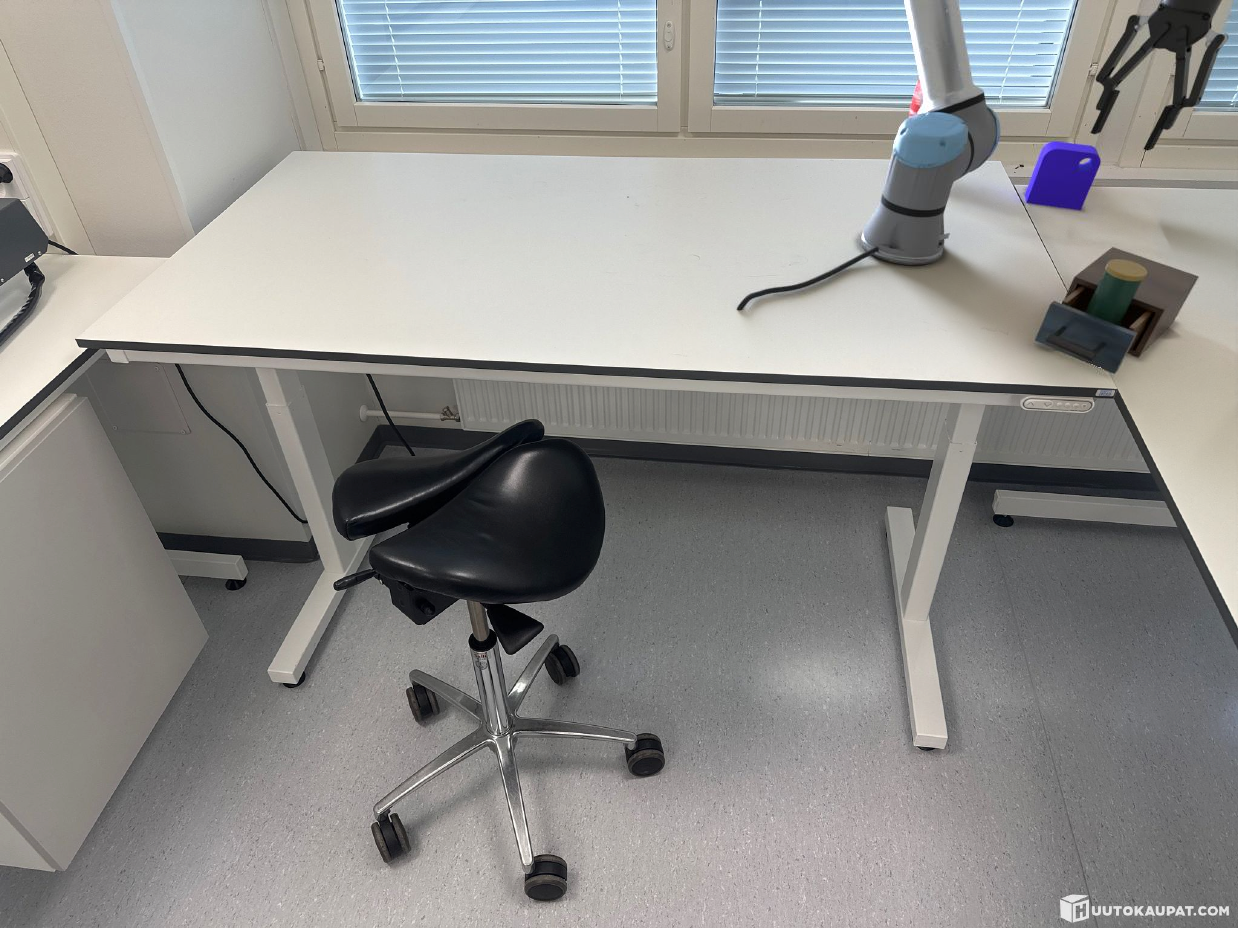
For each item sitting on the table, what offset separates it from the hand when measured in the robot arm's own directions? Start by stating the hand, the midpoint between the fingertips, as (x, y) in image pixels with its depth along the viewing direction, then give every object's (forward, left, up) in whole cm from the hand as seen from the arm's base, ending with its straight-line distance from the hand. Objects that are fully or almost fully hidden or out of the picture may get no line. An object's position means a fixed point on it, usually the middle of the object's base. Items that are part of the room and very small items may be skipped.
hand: (1121, 140), depth 130 cm
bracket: (+22, +36, -25) cm, 49 cm away
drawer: (-12, -22, -24) cm, 35 cm away
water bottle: (-6, +48, -25) cm, 55 cm away
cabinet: (-1, -16, -25) cm, 29 cm away
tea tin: (-10, -21, -23) cm, 33 cm away
